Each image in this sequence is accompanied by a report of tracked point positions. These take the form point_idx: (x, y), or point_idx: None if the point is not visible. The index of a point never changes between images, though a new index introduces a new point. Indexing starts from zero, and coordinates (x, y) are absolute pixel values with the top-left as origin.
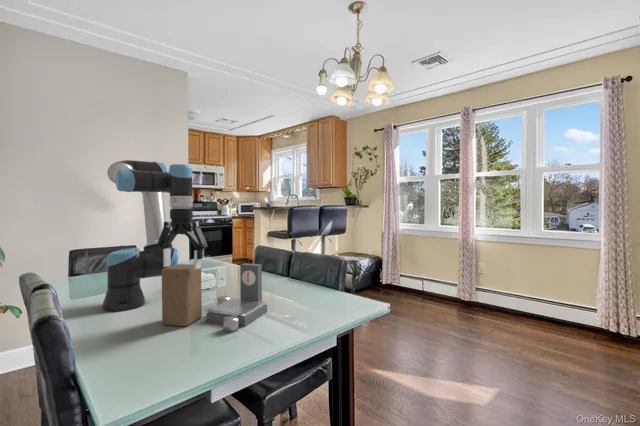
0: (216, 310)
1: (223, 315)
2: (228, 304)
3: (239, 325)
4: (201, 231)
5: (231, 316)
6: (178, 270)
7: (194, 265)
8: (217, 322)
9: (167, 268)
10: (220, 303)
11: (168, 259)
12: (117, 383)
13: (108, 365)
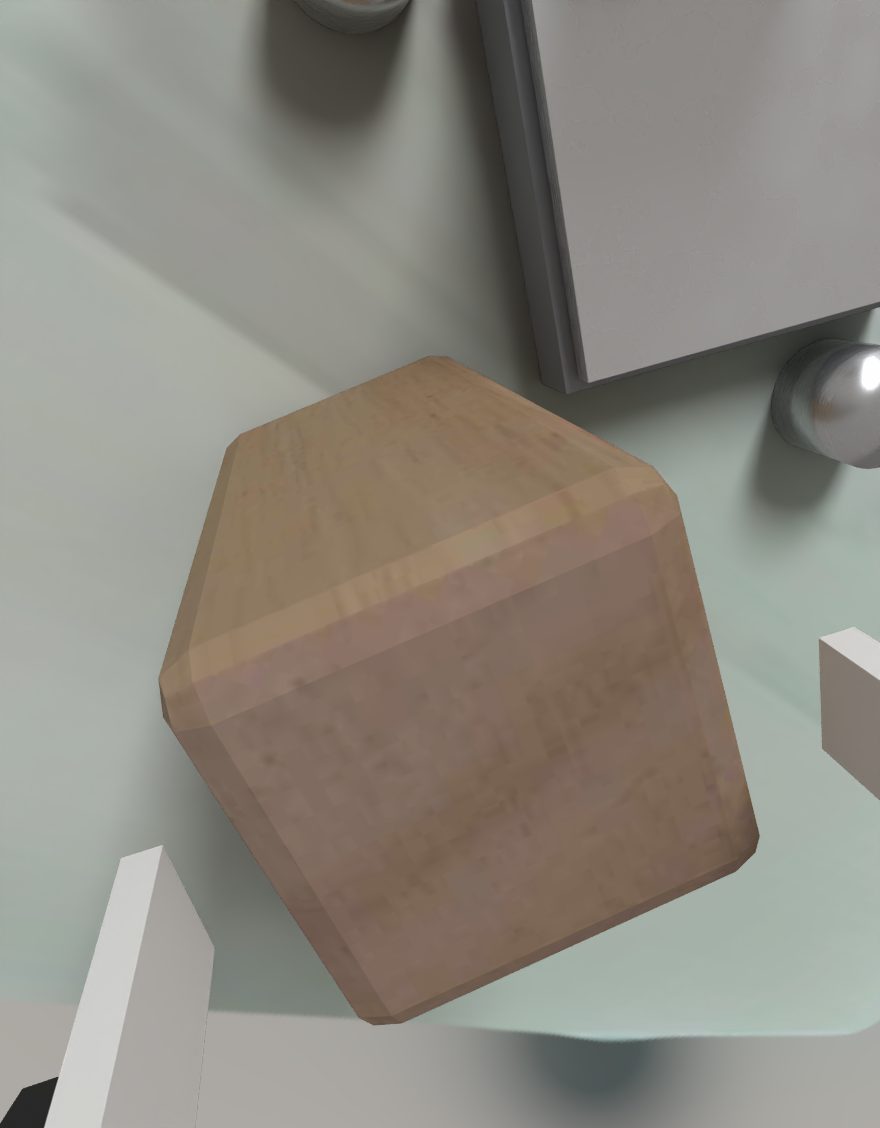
0: (672, 358)
1: (734, 346)
2: (652, 142)
3: None
4: None
5: (863, 377)
6: (646, 908)
7: (867, 786)
8: None
9: (441, 993)
10: (382, 10)
11: (163, 1008)
12: (742, 974)
13: (586, 966)
